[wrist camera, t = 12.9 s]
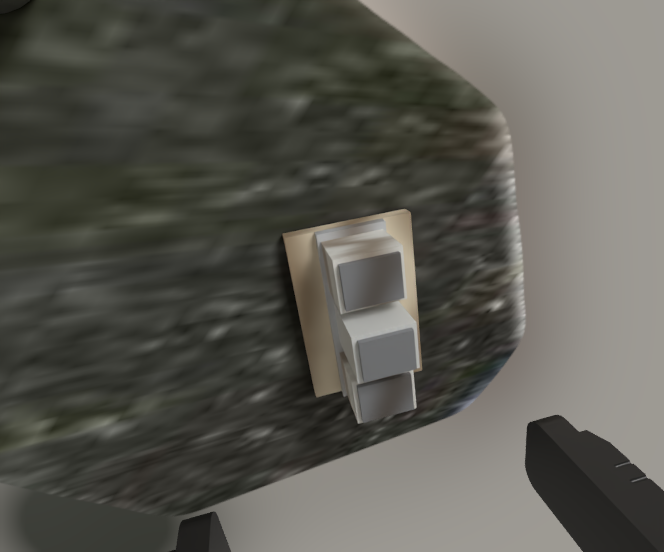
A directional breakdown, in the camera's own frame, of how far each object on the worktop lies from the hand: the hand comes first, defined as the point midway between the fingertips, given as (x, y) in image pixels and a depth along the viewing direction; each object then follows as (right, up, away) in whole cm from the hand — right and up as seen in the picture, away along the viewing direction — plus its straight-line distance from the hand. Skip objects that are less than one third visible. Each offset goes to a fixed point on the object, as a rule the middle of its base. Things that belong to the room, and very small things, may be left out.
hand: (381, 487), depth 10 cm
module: (+2, +1, +30) cm, 30 cm away
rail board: (+1, +2, +32) cm, 33 cm away
